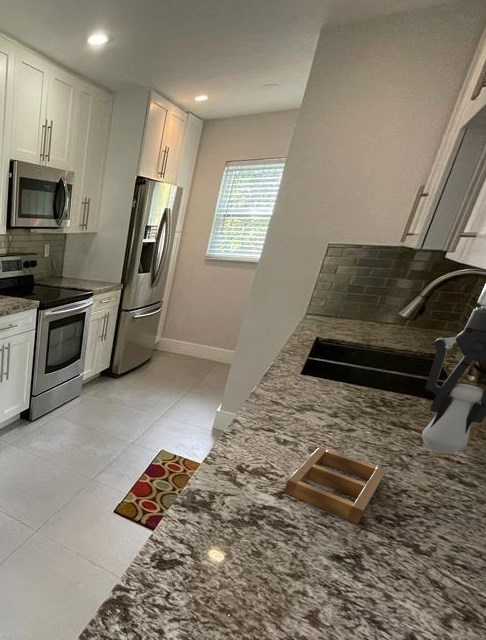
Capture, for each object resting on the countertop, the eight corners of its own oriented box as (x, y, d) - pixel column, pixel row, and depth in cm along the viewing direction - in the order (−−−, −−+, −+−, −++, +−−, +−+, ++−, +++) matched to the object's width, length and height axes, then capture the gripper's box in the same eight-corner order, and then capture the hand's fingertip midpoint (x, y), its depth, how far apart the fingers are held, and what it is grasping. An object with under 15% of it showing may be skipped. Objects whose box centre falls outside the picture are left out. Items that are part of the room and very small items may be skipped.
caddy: (381, 481, 86) (386, 469, 85) (357, 524, 74) (363, 510, 73) (315, 457, 95) (319, 446, 94) (283, 492, 82) (287, 479, 81)
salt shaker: (453, 459, 76) (486, 394, 71) (412, 444, 80) (441, 383, 76) (466, 452, 78) (499, 390, 73) (426, 438, 83) (455, 379, 78)
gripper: (438, 303, 73) (386, 421, 82) (591, 321, 61) (512, 456, 70) (443, 299, 77) (393, 411, 86) (586, 315, 66) (512, 443, 74)
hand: (446, 431), depth 78 cm, fingers closed on salt shaker, 3 cm apart
